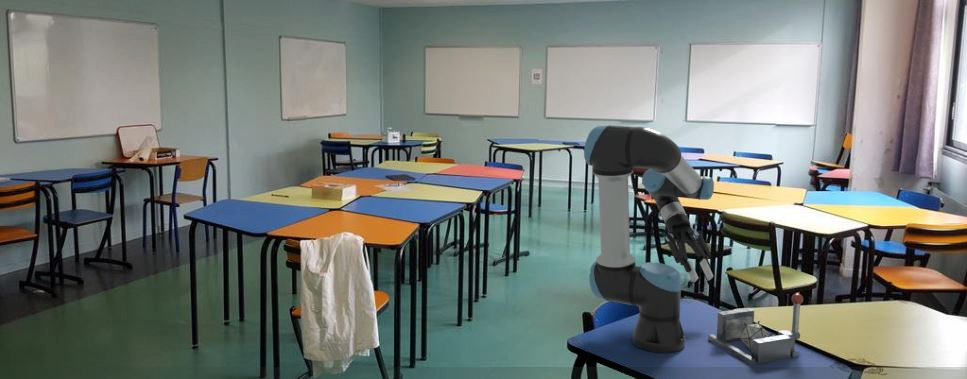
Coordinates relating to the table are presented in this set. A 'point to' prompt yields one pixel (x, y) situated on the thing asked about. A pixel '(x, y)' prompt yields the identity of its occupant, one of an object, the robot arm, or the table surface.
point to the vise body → (763, 348)
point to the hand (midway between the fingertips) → (703, 279)
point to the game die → (753, 334)
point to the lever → (796, 314)
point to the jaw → (733, 323)
